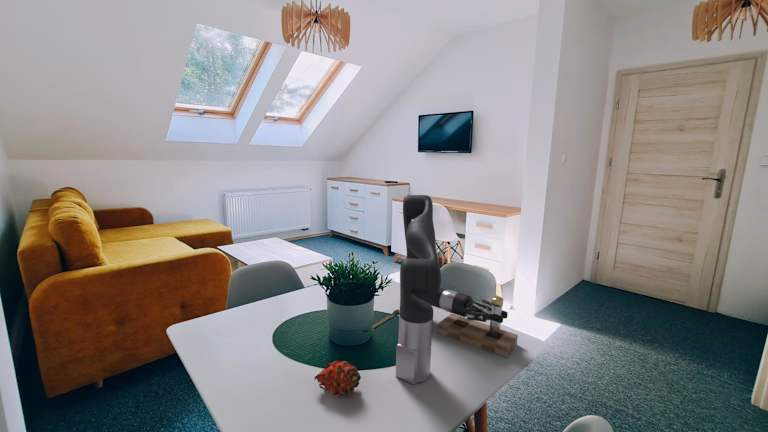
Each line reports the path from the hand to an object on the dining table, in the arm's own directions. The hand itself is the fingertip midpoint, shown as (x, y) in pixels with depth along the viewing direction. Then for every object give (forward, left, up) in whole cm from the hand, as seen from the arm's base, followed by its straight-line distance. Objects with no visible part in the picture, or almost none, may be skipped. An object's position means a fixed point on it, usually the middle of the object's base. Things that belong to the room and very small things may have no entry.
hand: (504, 317), depth 112 cm
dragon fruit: (-49, +26, -11) cm, 56 cm away
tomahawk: (-11, +39, -11) cm, 42 cm away
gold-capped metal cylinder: (0, +3, -10) cm, 11 cm away
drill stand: (0, +9, -10) cm, 14 cm away
